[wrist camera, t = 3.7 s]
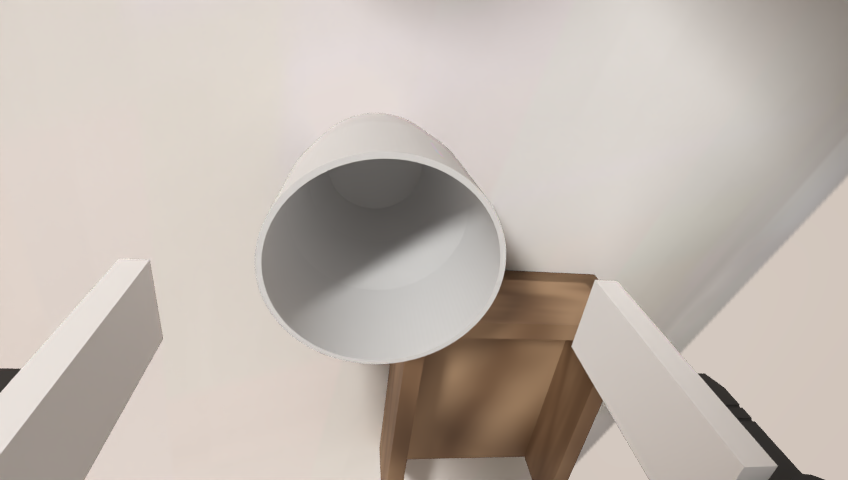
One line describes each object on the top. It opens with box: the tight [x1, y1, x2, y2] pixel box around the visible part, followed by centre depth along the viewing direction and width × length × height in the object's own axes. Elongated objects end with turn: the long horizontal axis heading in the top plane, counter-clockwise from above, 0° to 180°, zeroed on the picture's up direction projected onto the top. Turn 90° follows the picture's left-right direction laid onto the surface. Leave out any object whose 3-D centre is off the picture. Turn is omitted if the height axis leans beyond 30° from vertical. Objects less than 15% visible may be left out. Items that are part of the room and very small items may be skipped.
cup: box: [255, 113, 506, 364], centre depth 20 cm, size 8×8×10 cm
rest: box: [380, 270, 603, 480], centre depth 30 cm, size 12×16×5 cm
